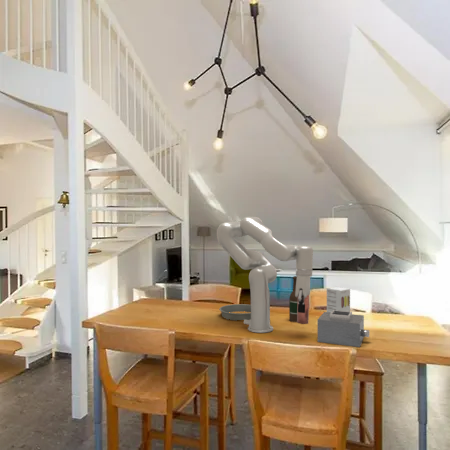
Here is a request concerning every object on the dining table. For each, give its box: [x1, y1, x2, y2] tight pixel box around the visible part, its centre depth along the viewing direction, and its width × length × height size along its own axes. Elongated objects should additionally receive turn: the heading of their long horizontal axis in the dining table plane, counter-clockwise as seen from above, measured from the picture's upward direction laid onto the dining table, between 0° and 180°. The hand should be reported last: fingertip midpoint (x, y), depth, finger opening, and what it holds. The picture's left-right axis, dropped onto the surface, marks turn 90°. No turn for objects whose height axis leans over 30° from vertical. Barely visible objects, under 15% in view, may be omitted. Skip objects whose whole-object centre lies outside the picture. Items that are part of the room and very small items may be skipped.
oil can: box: [296, 294, 310, 325], centre depth 179 cm, size 5×5×15 cm
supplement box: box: [326, 286, 351, 312], centre depth 211 cm, size 10×9×17 cm
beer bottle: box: [288, 275, 298, 323], centre depth 208 cm, size 8×8×24 cm
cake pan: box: [219, 303, 251, 321], centre depth 220 cm, size 25×25×4 cm
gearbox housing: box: [316, 310, 370, 348], centre depth 174 cm, size 21×16×12 cm
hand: (303, 310), depth 179 cm, fingers closed on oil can, 5 cm apart
